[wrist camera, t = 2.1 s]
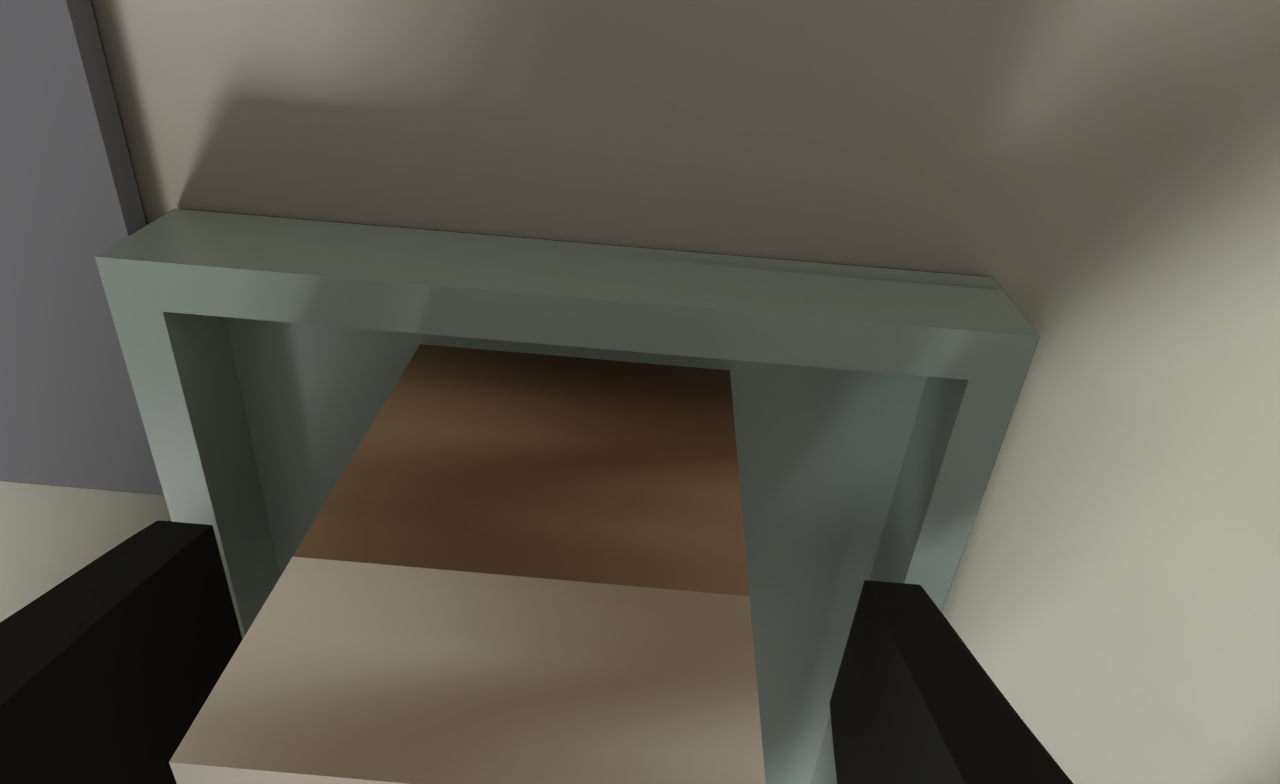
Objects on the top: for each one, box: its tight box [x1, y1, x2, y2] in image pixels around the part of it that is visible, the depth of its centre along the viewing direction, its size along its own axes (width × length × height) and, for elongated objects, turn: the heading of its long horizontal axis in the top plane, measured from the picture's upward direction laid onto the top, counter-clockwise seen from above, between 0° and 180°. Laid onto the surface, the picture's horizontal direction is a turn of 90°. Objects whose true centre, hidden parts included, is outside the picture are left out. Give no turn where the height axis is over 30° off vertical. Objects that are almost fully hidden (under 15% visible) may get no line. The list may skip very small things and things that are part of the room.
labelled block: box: [169, 344, 766, 784], centre depth 9 cm, size 4×4×6 cm
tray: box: [95, 209, 1040, 784], centre depth 13 cm, size 10×14×2 cm
